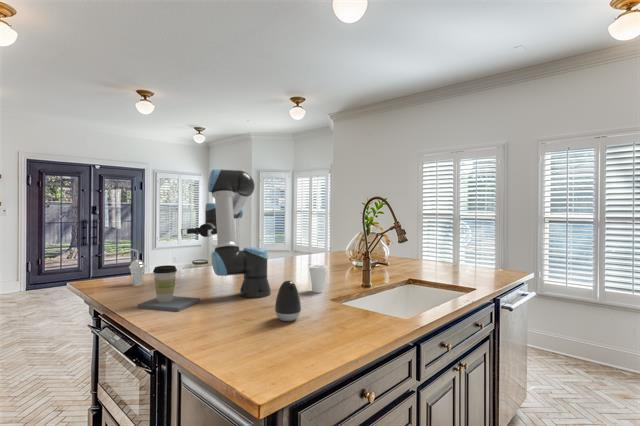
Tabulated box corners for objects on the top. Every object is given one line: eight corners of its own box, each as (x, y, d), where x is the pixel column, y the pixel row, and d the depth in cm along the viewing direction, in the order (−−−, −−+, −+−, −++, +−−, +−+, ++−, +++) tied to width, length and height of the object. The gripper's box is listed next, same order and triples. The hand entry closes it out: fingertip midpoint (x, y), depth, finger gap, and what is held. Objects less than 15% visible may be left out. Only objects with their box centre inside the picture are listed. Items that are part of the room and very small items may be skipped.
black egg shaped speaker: (280, 325, 130) (280, 284, 129) (271, 317, 139) (271, 279, 139) (305, 321, 134) (305, 282, 134) (294, 313, 144) (295, 277, 143)
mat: (200, 301, 161) (200, 298, 161) (178, 311, 145) (178, 307, 145) (162, 298, 165) (162, 295, 165) (137, 307, 150) (137, 304, 150)
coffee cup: (169, 303, 151) (169, 269, 151) (148, 302, 152) (148, 268, 152) (181, 298, 161) (181, 265, 160) (161, 297, 162) (161, 264, 162)
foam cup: (330, 290, 184) (330, 266, 183) (321, 294, 176) (321, 268, 176) (315, 288, 189) (315, 264, 188) (305, 291, 181) (305, 266, 181)
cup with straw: (132, 287, 187) (132, 250, 186) (125, 284, 193) (125, 248, 193) (148, 284, 193) (148, 248, 193) (141, 282, 199) (141, 247, 199)
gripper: (228, 236, 203) (219, 240, 181) (185, 236, 202) (170, 239, 181) (228, 223, 202) (219, 225, 181) (185, 223, 202) (170, 225, 180)
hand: (195, 232), depth 181 cm, fingers open, 13 cm apart
